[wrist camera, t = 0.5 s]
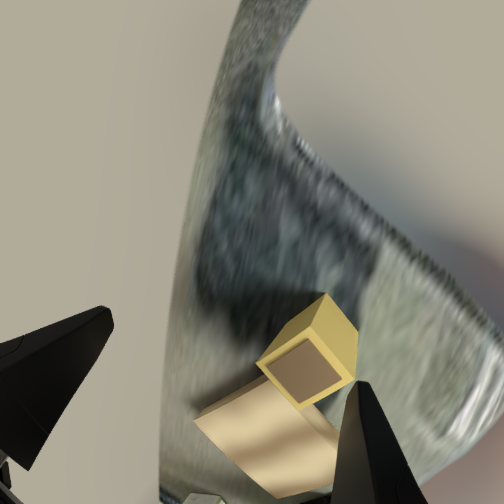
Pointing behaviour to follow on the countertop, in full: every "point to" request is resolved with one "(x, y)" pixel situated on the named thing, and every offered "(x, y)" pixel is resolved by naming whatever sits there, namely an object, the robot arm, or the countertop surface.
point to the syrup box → (203, 499)
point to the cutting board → (273, 438)
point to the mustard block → (312, 354)
